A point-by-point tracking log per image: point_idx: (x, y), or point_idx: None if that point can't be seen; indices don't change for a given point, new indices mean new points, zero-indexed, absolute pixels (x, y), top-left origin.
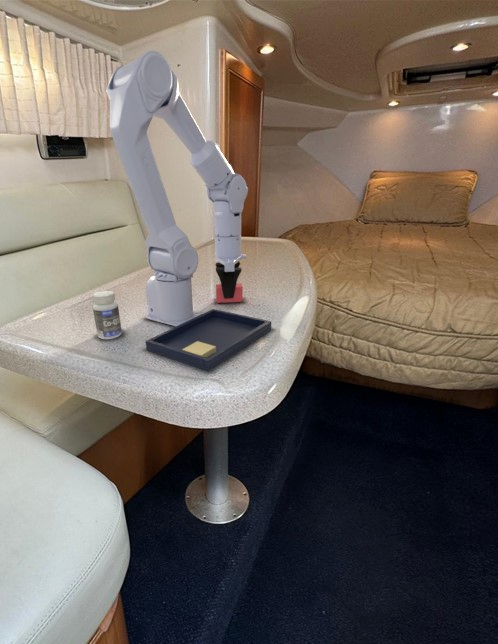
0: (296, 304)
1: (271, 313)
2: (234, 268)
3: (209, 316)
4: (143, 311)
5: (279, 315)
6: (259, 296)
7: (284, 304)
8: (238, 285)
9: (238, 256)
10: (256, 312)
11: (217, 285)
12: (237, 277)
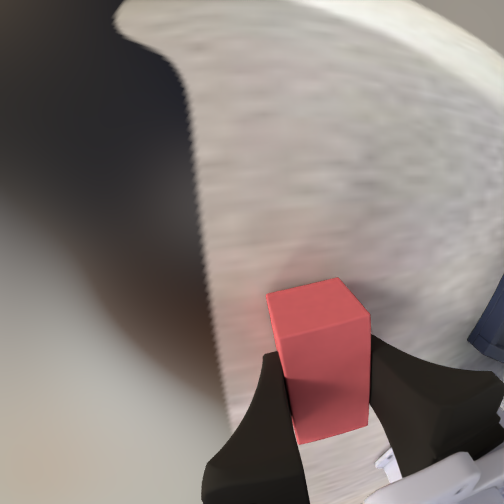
0: (335, 7)
1: (457, 132)
2: (461, 432)
3: (497, 344)
4: (378, 488)
5: (470, 104)
6: (207, 194)
7: (343, 57)
8: (330, 346)
9: (489, 490)
10: (451, 194)
11: (319, 435)
12: (456, 371)
